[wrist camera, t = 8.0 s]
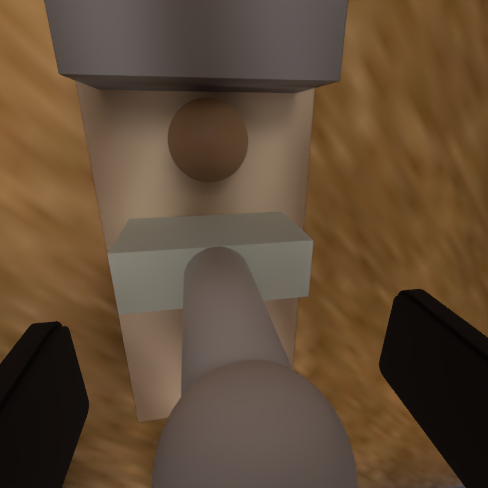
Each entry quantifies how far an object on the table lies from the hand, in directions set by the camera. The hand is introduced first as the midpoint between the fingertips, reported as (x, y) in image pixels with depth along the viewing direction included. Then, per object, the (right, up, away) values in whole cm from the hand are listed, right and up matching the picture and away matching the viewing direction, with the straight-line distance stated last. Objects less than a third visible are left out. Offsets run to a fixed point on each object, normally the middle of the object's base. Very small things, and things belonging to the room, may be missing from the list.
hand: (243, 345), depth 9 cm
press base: (-2, +3, +12) cm, 13 cm away
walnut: (-2, +9, +7) cm, 12 cm away
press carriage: (-2, +3, +9) cm, 10 cm away
